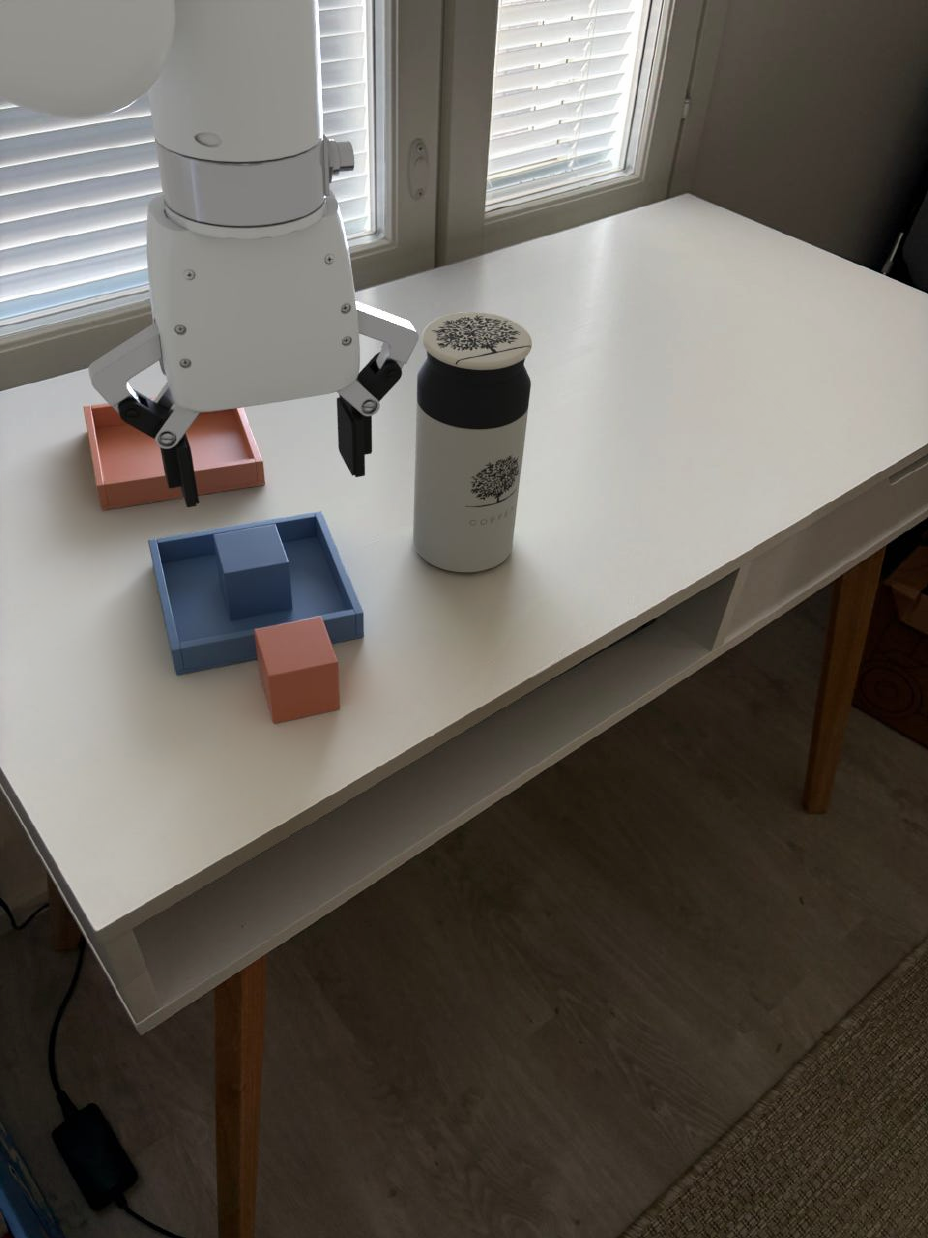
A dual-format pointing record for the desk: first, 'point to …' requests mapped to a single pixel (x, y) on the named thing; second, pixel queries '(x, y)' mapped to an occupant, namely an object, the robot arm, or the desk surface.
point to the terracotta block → (297, 669)
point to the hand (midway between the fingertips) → (272, 478)
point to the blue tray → (217, 641)
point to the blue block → (253, 572)
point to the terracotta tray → (136, 462)
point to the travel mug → (469, 440)
